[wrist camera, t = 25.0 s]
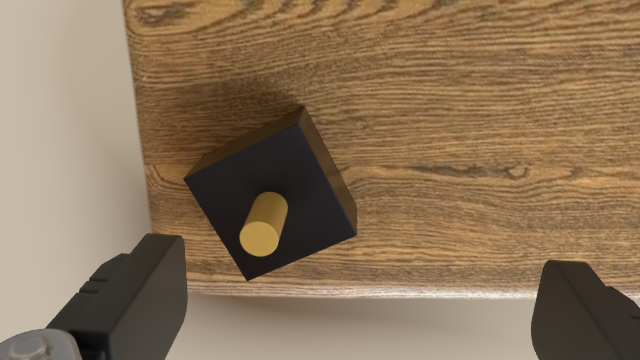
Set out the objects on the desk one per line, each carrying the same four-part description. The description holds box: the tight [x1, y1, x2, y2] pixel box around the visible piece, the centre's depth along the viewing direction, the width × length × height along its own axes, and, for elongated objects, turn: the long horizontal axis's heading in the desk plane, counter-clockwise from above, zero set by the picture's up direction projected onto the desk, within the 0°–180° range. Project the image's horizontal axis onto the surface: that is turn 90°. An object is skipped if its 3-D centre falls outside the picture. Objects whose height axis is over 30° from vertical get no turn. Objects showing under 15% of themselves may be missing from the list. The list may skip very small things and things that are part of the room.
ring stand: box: [184, 107, 357, 281], centre depth 37 cm, size 9×9×10 cm
